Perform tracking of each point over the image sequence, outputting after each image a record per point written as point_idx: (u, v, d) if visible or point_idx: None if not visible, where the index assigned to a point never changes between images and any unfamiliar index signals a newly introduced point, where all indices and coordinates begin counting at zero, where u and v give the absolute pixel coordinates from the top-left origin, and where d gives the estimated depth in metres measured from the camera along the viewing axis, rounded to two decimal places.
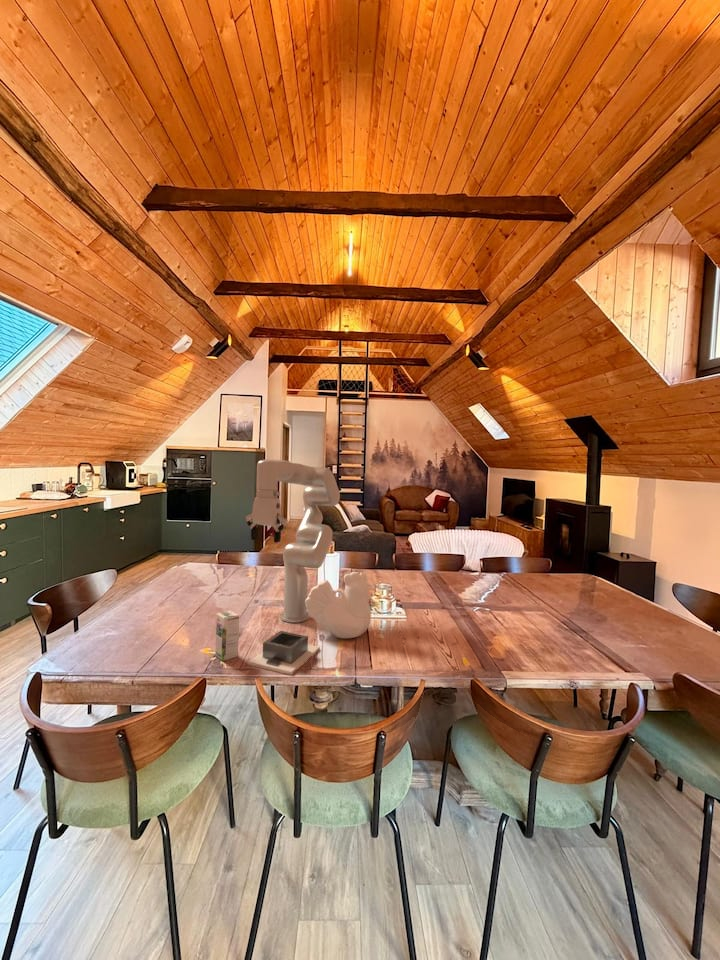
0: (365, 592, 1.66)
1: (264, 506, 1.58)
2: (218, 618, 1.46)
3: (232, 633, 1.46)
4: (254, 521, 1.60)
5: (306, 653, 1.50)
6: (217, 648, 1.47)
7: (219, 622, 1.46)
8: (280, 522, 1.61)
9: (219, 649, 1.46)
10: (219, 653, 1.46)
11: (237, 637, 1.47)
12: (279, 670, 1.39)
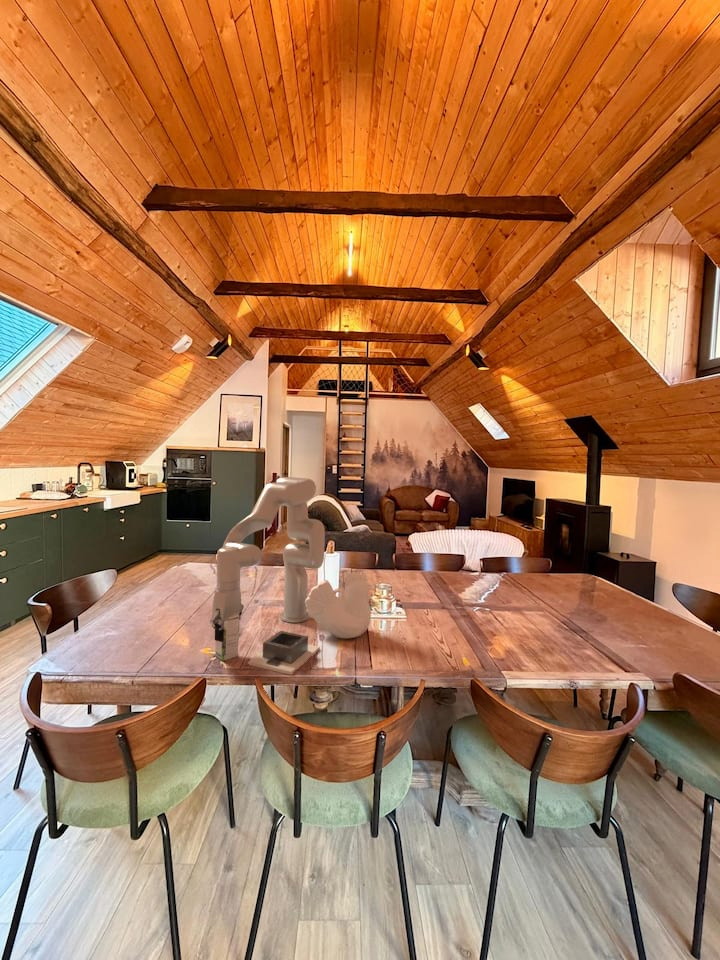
0: (365, 592, 1.66)
1: (235, 597, 1.47)
2: None
3: (231, 633, 1.46)
4: (225, 618, 1.43)
5: (306, 653, 1.50)
6: (217, 648, 1.47)
7: (219, 622, 1.46)
8: None
9: (219, 649, 1.46)
10: (219, 653, 1.46)
11: (237, 637, 1.47)
12: (279, 670, 1.39)
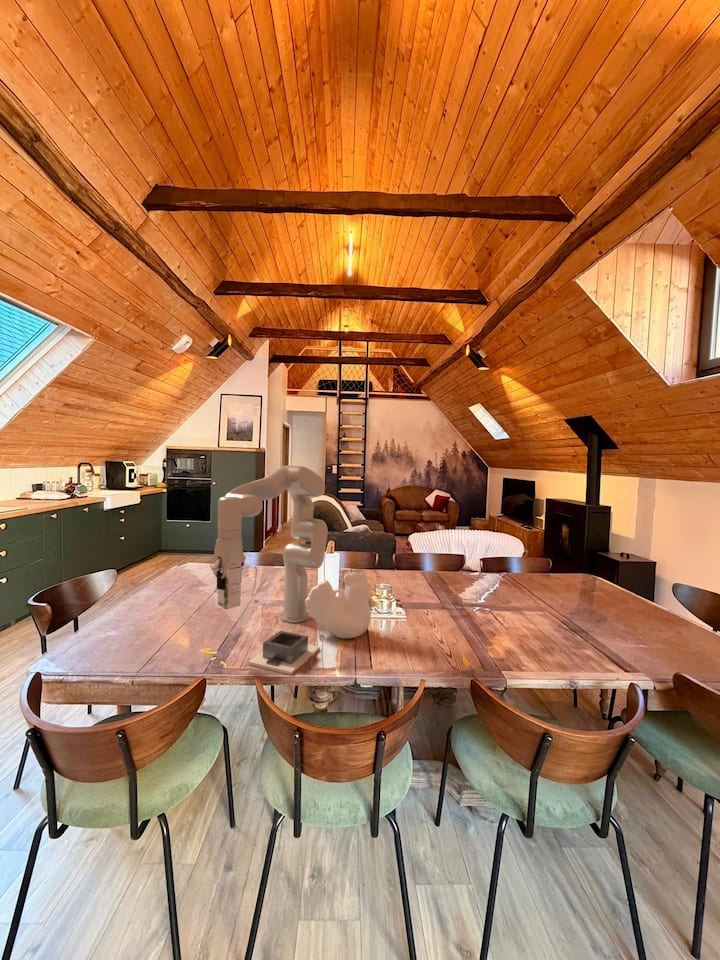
0: (365, 592, 1.66)
1: (237, 546, 1.46)
2: None
3: (233, 582, 1.45)
4: (227, 566, 1.43)
5: (306, 653, 1.50)
6: (219, 597, 1.46)
7: (221, 571, 1.45)
8: None
9: (221, 598, 1.45)
10: (221, 602, 1.45)
11: (239, 586, 1.47)
12: (279, 670, 1.39)
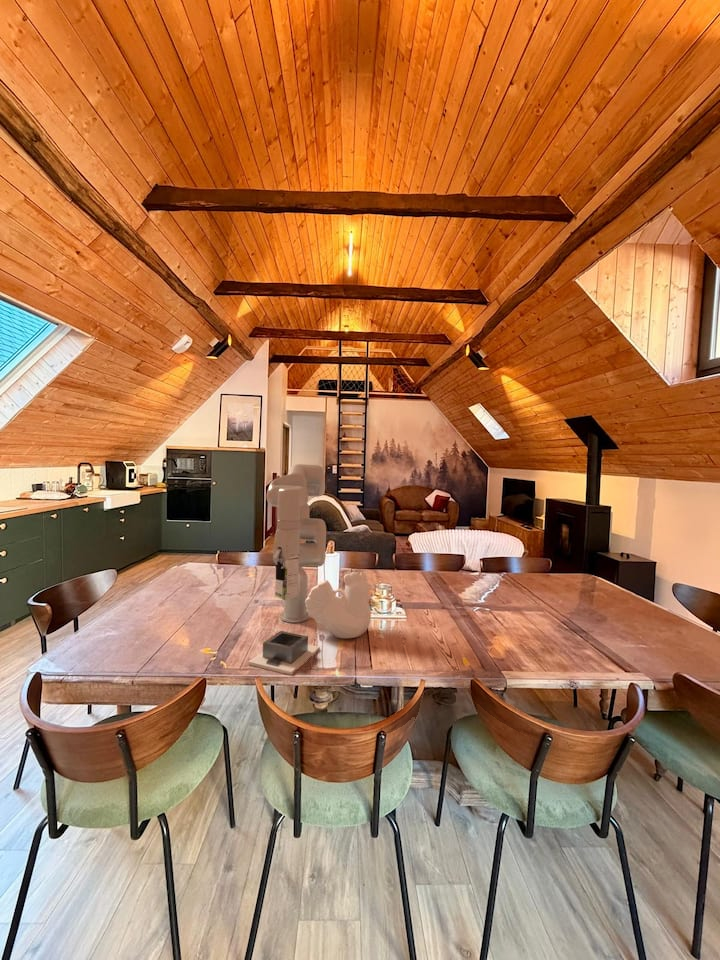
0: (365, 592, 1.66)
1: (295, 537, 1.47)
2: None
3: (292, 573, 1.46)
4: (287, 557, 1.43)
5: (306, 653, 1.50)
6: (277, 588, 1.47)
7: None
8: None
9: (279, 589, 1.46)
10: (279, 592, 1.46)
11: (297, 577, 1.47)
12: (279, 670, 1.39)
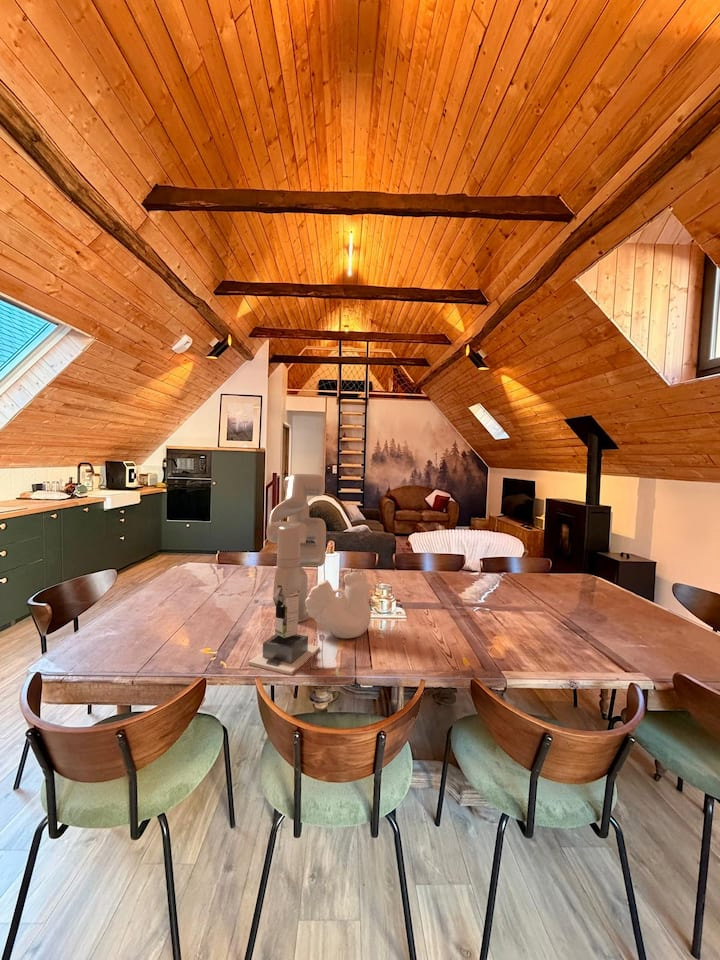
0: (365, 592, 1.66)
1: (295, 575, 1.47)
2: None
3: (292, 611, 1.46)
4: (287, 595, 1.44)
5: (306, 653, 1.50)
6: (277, 626, 1.47)
7: (280, 600, 1.46)
8: None
9: (279, 626, 1.46)
10: (279, 630, 1.46)
11: (297, 615, 1.48)
12: (279, 670, 1.39)
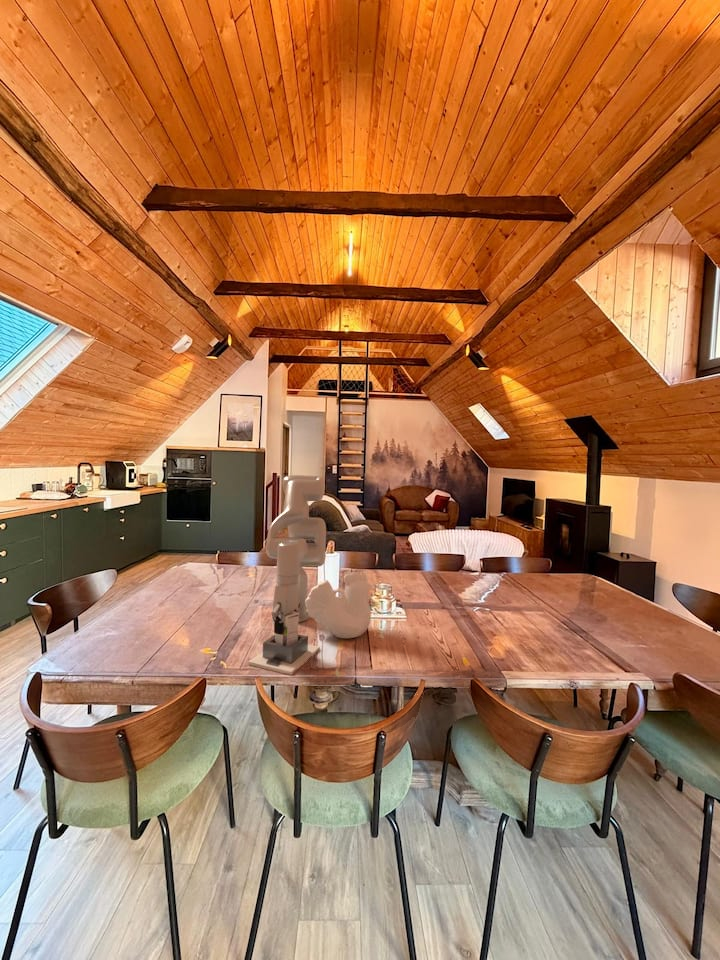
0: (365, 592, 1.66)
1: (295, 591, 1.48)
2: None
3: (292, 631, 1.47)
4: (286, 612, 1.44)
5: (306, 653, 1.50)
6: None
7: None
8: None
9: None
10: None
11: (296, 634, 1.49)
12: (279, 670, 1.39)
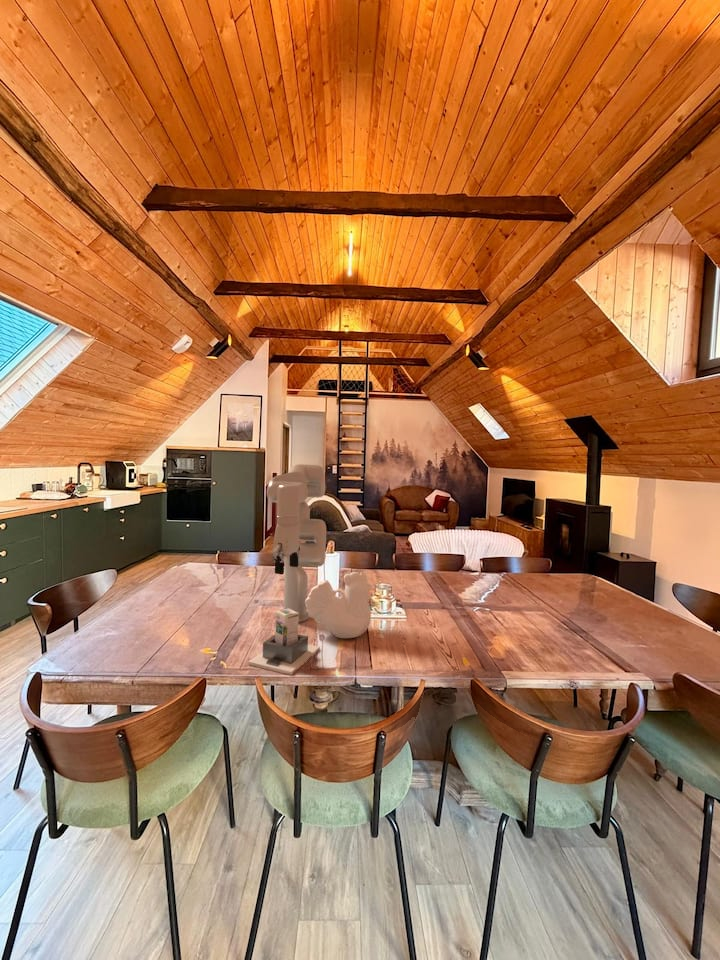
0: (365, 592, 1.66)
1: (295, 533, 1.49)
2: (278, 616, 1.48)
3: (292, 631, 1.47)
4: (287, 552, 1.46)
5: (306, 653, 1.50)
6: None
7: (280, 620, 1.47)
8: None
9: None
10: None
11: (296, 634, 1.49)
12: (279, 670, 1.39)
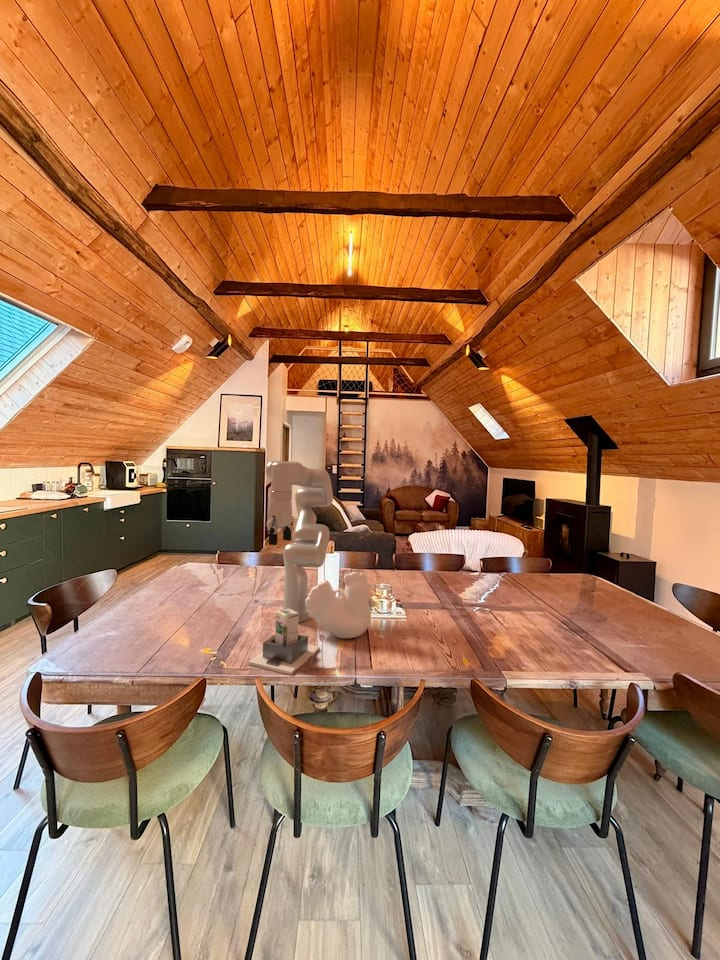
0: (365, 592, 1.66)
1: (288, 507, 1.60)
2: (278, 616, 1.48)
3: (292, 631, 1.47)
4: (280, 525, 1.57)
5: (306, 653, 1.50)
6: None
7: (280, 620, 1.47)
8: None
9: None
10: None
11: (296, 634, 1.49)
12: (279, 670, 1.39)
